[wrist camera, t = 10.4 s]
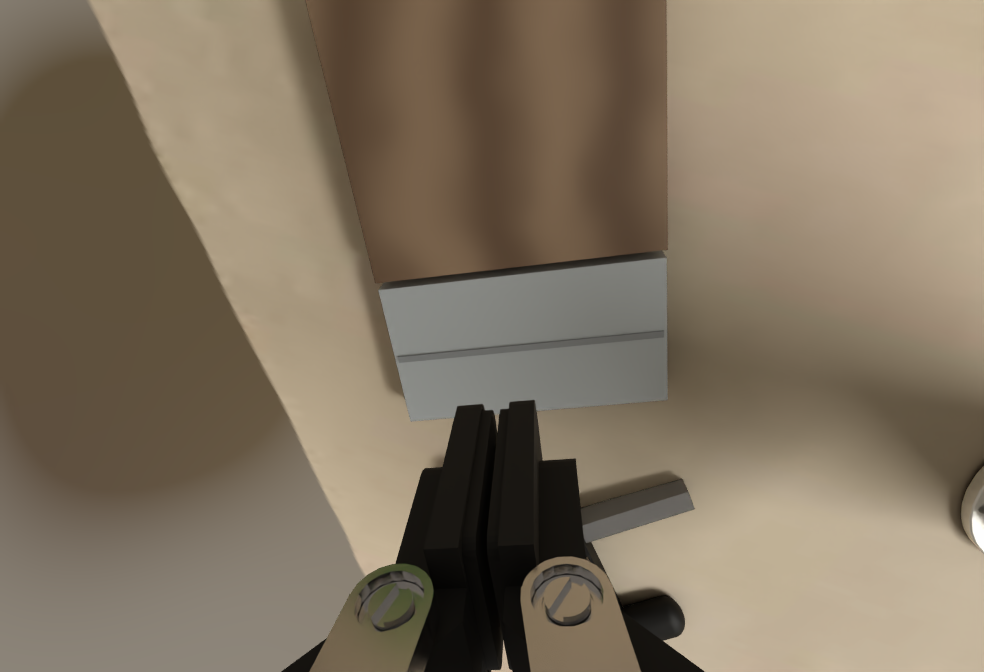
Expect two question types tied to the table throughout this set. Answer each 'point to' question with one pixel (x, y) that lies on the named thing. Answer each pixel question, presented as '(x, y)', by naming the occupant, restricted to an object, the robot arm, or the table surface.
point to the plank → (499, 129)
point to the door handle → (631, 513)
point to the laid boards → (532, 335)
